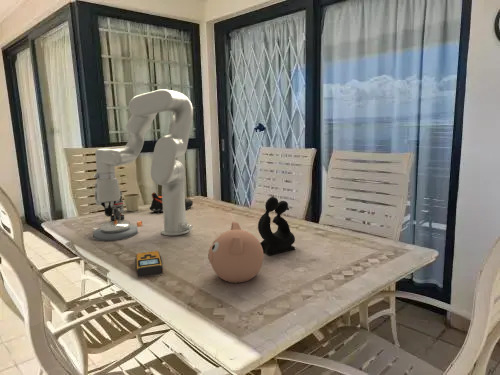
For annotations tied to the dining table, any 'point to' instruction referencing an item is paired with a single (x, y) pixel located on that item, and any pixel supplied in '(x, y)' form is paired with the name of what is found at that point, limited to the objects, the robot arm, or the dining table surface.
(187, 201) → the athletic shoe
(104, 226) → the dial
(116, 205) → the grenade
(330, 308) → the dining table surface
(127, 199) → the flower pot
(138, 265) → the electronic device
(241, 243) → the toy
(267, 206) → the figurine
